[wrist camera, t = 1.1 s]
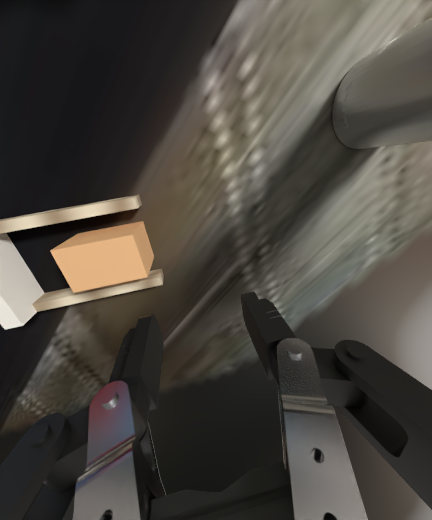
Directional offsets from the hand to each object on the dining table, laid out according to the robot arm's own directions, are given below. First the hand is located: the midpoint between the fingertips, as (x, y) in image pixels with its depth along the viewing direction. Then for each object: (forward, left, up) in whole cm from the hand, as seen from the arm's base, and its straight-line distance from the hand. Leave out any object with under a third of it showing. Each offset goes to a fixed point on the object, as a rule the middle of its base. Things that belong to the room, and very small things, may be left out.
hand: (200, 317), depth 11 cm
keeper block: (+9, 0, -18) cm, 20 cm away
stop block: (+22, 0, -17) cm, 28 cm away
